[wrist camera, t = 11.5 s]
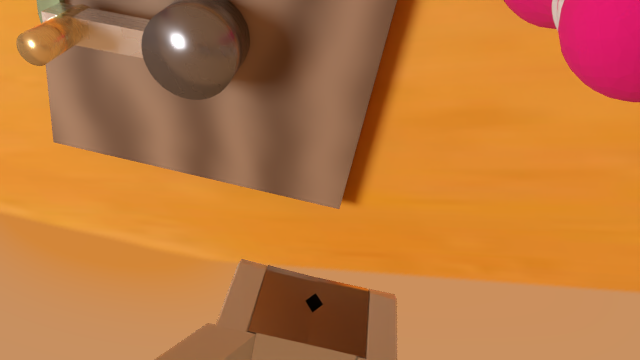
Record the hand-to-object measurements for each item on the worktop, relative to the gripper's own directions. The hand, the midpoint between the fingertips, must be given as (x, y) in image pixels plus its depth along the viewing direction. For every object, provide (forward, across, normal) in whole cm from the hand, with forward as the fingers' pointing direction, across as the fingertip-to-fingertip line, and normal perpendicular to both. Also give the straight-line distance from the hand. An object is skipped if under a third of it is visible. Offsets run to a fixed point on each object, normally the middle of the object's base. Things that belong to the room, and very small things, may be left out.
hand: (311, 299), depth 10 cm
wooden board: (+29, +10, +6) cm, 31 cm away
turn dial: (+27, +13, +6) cm, 31 cm away
